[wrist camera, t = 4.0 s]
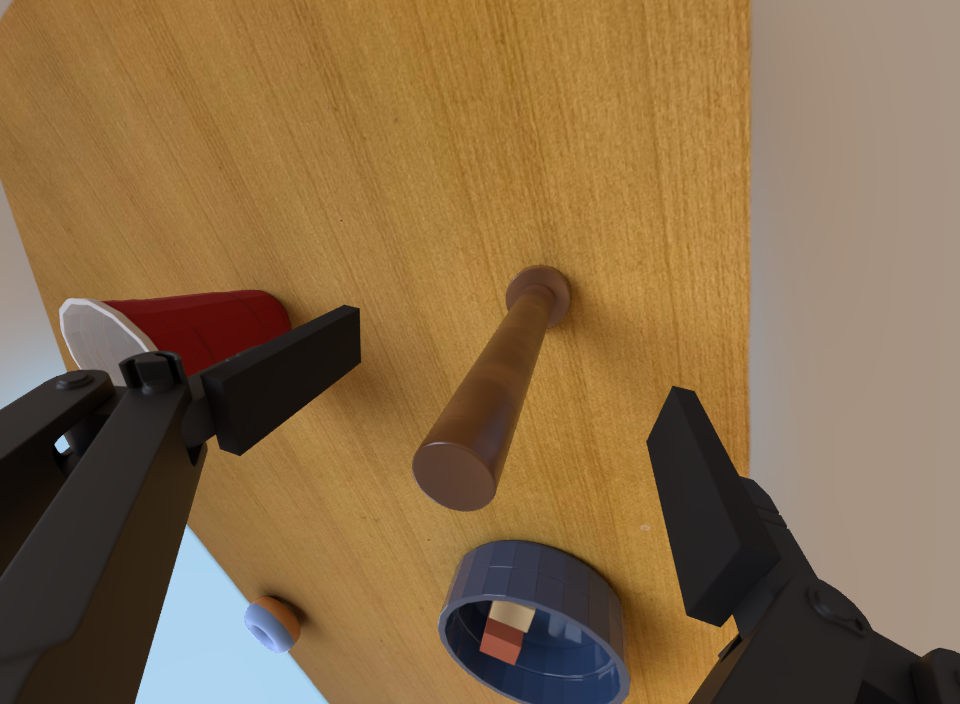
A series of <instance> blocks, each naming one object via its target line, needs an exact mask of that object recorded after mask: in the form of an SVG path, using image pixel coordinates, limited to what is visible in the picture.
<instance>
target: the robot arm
mask: <svg viewBox="0 0 960 704" xmlns="http://www.w3.org/2000/svg"><path fill="white" fill-rule="evenodd" d="M360 363H361V347H360V308H355V307H351V306H347V305H343V306H341V307H339V308H336V309H334V310H332V311H330V312H328V313H326V314H324V315H322V316H320V317H318V318H316V319H314V320H312V321H310V322H308V323H306V324H303V325H301V326H299V327H297V328H295V329H293V330H291V331H289V332H287V333H285V334H283V335H281V336H279V337H277V338H275V339H273V340H270V341H268V342H266V343H264V344H262V345H258V346H254V347H250V348H248V349H246V350H244V351H242V352H239V353H237V354H236V356H235V355H233V356H231V357H229V358H227V359H226V360H225V361H221V362H218V363H216V364H214V365H212V366H210V367H208V368H206V369H204V370H202V371H200V372H197V373H195V374H193V375H191V376H189V377H187V376H186V373H185V369H184V366H183V362H182V359H181V356H180V355H179V354H178V353H176V352H172V351H151V352H144V353H140V354H137V355H133V356H131V357H129V358H126V359H124V360H123V361H121V362H120V363H119V364H118V365H119V368H120V370H121V373H122V375H123V378H124V381H125V383H126V386H114V385H113V383H112V380H111V378H110V376H109V373H107V372H105V371H103V370H96V369H91V370H76V371H71V372H67V373H66V374H63V375H59V376H56V377H54V378H52V379H50V380H48V381H46V382H44V383H43V384H41V385H40V386H38V387H36V388H35V389H33V390H31V391H30V392H28V393H27V394H25V395H23V396H22V397H20V398H19V399H17V400H15V401H14V402H12V403H11V404H9V405H7V406H6V407H4V408H3V409H1V410H0V704H135V700H136V697H137V693H138V690H139V686H140V683H141V679H142V676H143V673H144V669H145V666H146V662H147V659H148V655H149V652H150V648H151V645H152V641H153V638H154V634H155V631H156V628H157V624H158V620H159V617H160V614H161V610H162V606H163V603H164V600H165V596H166V593H167V589H168V586H169V582H170V579H171V575H172V572H173V569H174V565H175V562H176V558H177V555H178V551H179V548H180V544H181V541H182V537H183V534H184V530H185V527H186V524H187V520H188V517H189V513H190V510H191V506H192V503H193V499H194V496H195V492H196V489H197V485H198V482H199V478H200V475H201V471H202V468H203V465H204V461H205V458H206V454H207V451H208V450H207V443H206V441H207V440H208V439H210V438H211V437H213V436H214V435H216V436H217V440H218V444H219V447H220V449H222V450H224V451H227V452H230V453H233V454H236V455H238V456H241V455H242V454H244V453H245V452H246V451H247V450H249V449H250V448H251V447H253V446H254V445H255V444H256V443H258V442H259V441H260V440H262V439H263V438H264V437H265V436H267V435H268V434H269V433H271V432H272V431H273V430H274V429H276V428H277V427H278V426H280V425H281V424H282V423H283V422H285V421H286V420H287V419H289V418H290V417H291V416H293V415H294V414H295V413H296V412H298V411H299V410H300V409H302V408H303V407H304V406H305V405H307V404H308V403H309V402H311V401H312V400H313V399H314V398H316V397H317V396H318V395H320V394H321V393H322V392H323V391H325V390H326V389H327V388H329V387H330V386H331V385H332V384H334V383H335V382H336V381H338V380H339V379H340V378H342V377H343V376H344V375H345V374H347V373H348V372H349V371H351V370H352V369H353V368H354V367H356V366H357V365H358V364H360ZM63 434H64V436H65V438H66V440H67V442H68V444H69V446H70V447H69V448H68V449H67V450H65V451H64V452H63V453H59V452H58V451H57V449H56V447H55V445H54V444H55V443H56V441H57V440H58V439H59V438H60V437H61V436H62V435H63ZM646 442H647V447H648V451H649V455H650V460H651V464H652V468H653V473H654V477H655V481H656V486H657V490H658V494H659V499H660V503H661V507H662V511H663V516H664V520H665V524H666V529H667V533H668V537H669V542H670V546H671V550H672V555H673V559H674V563H675V567H676V572H677V576H678V580H679V585H680V589H681V593H682V598H683V602H684V606H685V611H686V615H687V616H690V617H692V618H695V619H698V620H701V621H704V622H706V623H709V624H712V625H715V626H718V627H721V626H722V625H723V624H724V623H725V622H726V621H727V620H728V618H729V617H730V616H731V615H732V614H733V616H734V619H735V622H736V625H737V628H738V631H739V633H738V634H737V636H736V637H735V638H734V639H733V640H732V641H731V642H730V643H729V644H728V645H727V646H726V647H725V648H724V649H723V650H722V651H721V652H720V653H719V655H718V657H719V658H720V659H719V660H718V662H717V663H716V664H715V666H714V667H713V669H712V670H711V672H710V673H709V675H708V676H707V677H706V679H705V680H704V682H703V683H702V685H701V686H700V688H699V689H698V690H697V692H696V693H695V695H694V696H693V698H692V699H691V701H690V702H689V704H960V654H959V653H957V652H955V651H952V650H947V649H943V648H937V649H935V650H932V651H930V652H929V653H927V654H926V655H924V656H923V657H920V656H918V655H916V654H914V653H913V652H911V651H909V650H907V649H905V648H903V647H902V646H900V645H898V644H896V643H895V642H893V641H891V640H889V639H887V638H885V637H884V636H882V635H880V634H879V633H877V632H875V631H873V630H872V628H871V626H870V624H869V622H868V621H867V619H866V617H865V616H864V615H863V614H862V612H861V611H860V610H859V609H858V608H857V607H856V605H855V604H854V603H852V601H850V600H849V599H848V598H847V597H846V596H844V595H843V594H842V593H841V592H840V591H838V590H837V589H835V588H834V587H832V586H830V585H829V584H827V583H826V582H824V581H822V580H820V579H818V578H817V576H816V574H815V573H814V571H813V569H812V567H811V566H810V564H809V562H808V561H807V559H806V557H805V555H804V554H803V552H802V550H801V549H800V547H799V545H798V544H797V542H796V540H795V539H794V537H793V535H792V533H791V532H790V530H789V529H787V525H786V523H785V522H784V520H783V519H782V516H781V515H779V511H778V510H777V508H776V506H775V505H774V503H773V501H772V499H771V498H770V496H769V495H768V494H767V493H766V492H765V491H764V490H763V489H762V488H761V487H760V486H759V485H758V484H757V483H756V482H755V481H754V480H751V479H748V478H744V477H741V476H739V475H738V473H737V471H736V469H735V467H734V466H733V464H732V462H731V460H730V458H729V456H728V454H727V452H726V450H725V448H724V446H723V445H722V443H721V441H720V439H719V437H718V435H717V433H716V431H715V429H714V427H713V426H712V424H711V422H710V420H709V418H708V416H707V414H706V412H705V410H704V408H703V406H702V405H701V403H700V401H699V399H698V397H697V395H696V393H695V391H692V390H688V389H684V388H680V387H675V386H672V388H671V390H670V393H669V395H668V397H667V399H666V401H665V403H664V405H663V407H662V410H661V412H660V414H659V416H658V418H657V420H656V422H655V424H654V427H653V429H652V431H651V433H650V435H649V437H648V439H647V441H646Z"/></svg>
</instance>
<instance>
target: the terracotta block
mask: <svg viewBox="0 0 960 704" xmlns="http://www.w3.org/2000/svg"><path fill="white" fill-rule="evenodd" d="M492 602H493V601H492ZM492 602H491V606H492ZM491 606H490V609H489V613H488V617H487V621H486V625H485V630H484V634H483V638H482V642H481V646H480V651H481V652H484V653H486V654H488V655H491V656H493V657H495V658H498V659H500V660H502V661H505V662H507V663H509V664H512V665H515V662H516V660H517V657H518V655H519V652H520V650H521V647H522V640H523V633H524V631H521V630H519V629H516V628H514V627H511V626H509V625H506V624H504V623H502V622H499V621H497V620H494V619H492V618H489V615H490V610H491Z"/></svg>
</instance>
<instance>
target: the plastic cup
mask: <svg viewBox="0 0 960 704" xmlns="http://www.w3.org/2000/svg"><path fill="white" fill-rule="evenodd" d="M59 313H60V325H61V331H62V334H63V336H64V339H65V341H66V344H67V346H68V348H69V351H70V353H71V355H72V357H73V359H74V360H75V362H76V363H77V365H78V366H79V368H80V370H91V369H96V370H103V371H105V372H107V373H109V376H110V378H111V380H112V383H113V385H114V386H126V383H125V381H124V378H123V375H122V373H121V370H120V368H119V365H118V364H119V363H120V362H121V361H123V360H124V359H126V358H129V357H131V356H133V355H137V354H140V353H144V352H151V351H172V352H176V353H178V354H179V355H180V356H181V359H182V362H183V366H184V369H185V373H186V376H187V377H189V376H191V375H193V374H195V373H197V372H200V371H202V370H204V369H206V368H208V367H210V366H212V365H214V364H216V363H218V362H221V361H225V360H226V359H227V358H229V357H231V356H233V355H235V356H236V354H237V353H239V352H242V351H244V350H246V349H248V348H250V347H254V346H258V345H262V344H264V343H266V342H268V341H270V340H273V339H275V338H277V337H279V336H281V335H283V334H285V333H287V332H289V331H290V323H289V319H288V316H287V313H286V312H285V310H284V309H283V307H282V306H281V304H280V303H279V302H278V301H277V300H276V299H274V298H273V297H272V296H271V295H270V294H267V293H265V292H263V291H261V290H239V291H230V292H211V293H201V294H192V295H182V296H173V297H164V298H154V299H145V300H136V299H133V300H123V301H117V300H111V301H99V300H97V299H84V298H68V299H67V300H66V301H65V303H64V304H63V305H62V307H61V308H60V309H59Z"/></svg>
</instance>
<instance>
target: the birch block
mask: <svg viewBox="0 0 960 704" xmlns="http://www.w3.org/2000/svg"><path fill="white" fill-rule="evenodd" d="M535 611H536V608H534V607H530V606H526V605H521V604H517V603H513V602H507V601H493V602H492V606H491V610H490V615H489V618H492V619H494V620H497V621H499V622H502V623H504V624H506V625H509V626H511V627H514V628H516V629H519V630H521V631H524V632H526V633H527V632H528V629H529V627H530V624H531V622H532V619H533V617H534V614H535Z"/></svg>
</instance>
